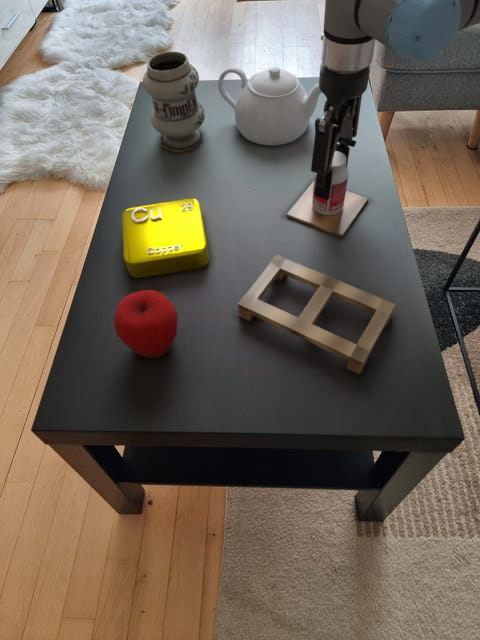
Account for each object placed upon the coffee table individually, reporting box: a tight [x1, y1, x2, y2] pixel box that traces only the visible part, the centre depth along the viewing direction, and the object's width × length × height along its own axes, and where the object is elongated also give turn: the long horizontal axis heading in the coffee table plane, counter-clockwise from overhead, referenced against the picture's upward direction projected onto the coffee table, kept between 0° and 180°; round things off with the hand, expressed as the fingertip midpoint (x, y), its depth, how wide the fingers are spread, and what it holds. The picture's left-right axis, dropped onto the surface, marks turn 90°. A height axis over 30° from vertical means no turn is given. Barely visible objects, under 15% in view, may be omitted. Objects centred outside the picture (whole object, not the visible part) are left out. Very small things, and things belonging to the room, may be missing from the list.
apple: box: [113, 289, 179, 358], centre depth 74 cm, size 10×10×11 cm
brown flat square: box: [286, 180, 369, 238], centre depth 95 cm, size 12×12×1 cm
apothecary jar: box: [142, 50, 206, 153], centre depth 104 cm, size 12×12×18 cm
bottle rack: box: [237, 254, 397, 375], centre depth 79 cm, size 22×13×4 cm, turn 58°
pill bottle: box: [312, 151, 349, 215], centre depth 90 cm, size 6×6×11 cm
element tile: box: [121, 198, 210, 279], centre depth 90 cm, size 15×15×5 cm
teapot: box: [217, 66, 323, 146], centre depth 107 cm, size 19×18×14 cm
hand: (330, 186), depth 91 cm, fingers closed on pill bottle, 6 cm apart
